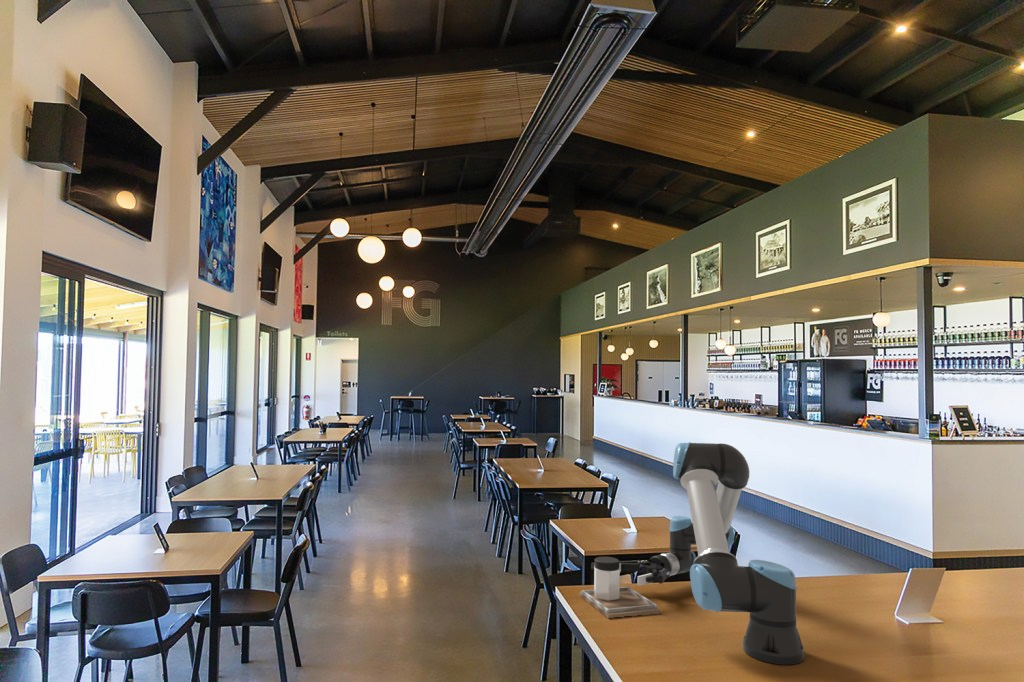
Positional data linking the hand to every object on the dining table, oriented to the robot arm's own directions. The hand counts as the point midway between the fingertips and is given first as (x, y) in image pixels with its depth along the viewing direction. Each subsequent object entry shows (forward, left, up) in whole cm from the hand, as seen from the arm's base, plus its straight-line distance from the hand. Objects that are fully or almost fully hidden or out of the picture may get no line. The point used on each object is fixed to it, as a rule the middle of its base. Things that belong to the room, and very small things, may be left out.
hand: (622, 575), depth 204 cm
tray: (-1, +2, -9) cm, 9 cm away
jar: (+4, +4, -8) cm, 9 cm away
